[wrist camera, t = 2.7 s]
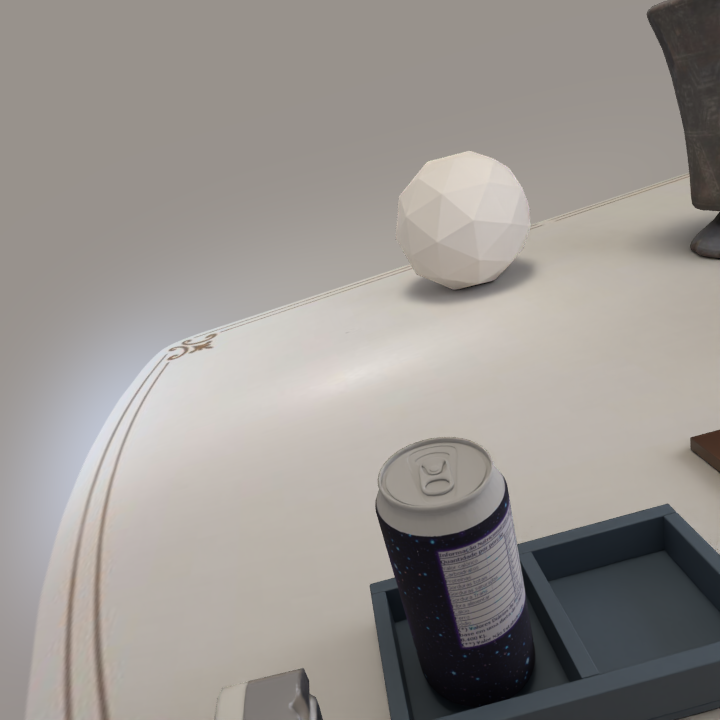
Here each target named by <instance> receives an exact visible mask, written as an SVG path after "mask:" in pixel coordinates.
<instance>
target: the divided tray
mask: <svg viewBox="0 0 720 720" xmlns="http://www.w3.org/2000/svg"><path fill="white" fill-rule="evenodd" d="M517 547H518V553H519V559H520V564H521V570H522V576H523V582H524V588H525V594H526V600H527V606H528V612H529V618H530V624H531V629H532V635H533V641H534V647H535V664H534V669H533V672H532V674H531V676H530V678H529V680H528V682H527V683H526V684H525V686H524V687H523V688H522V689H521V690H520V691H519V692H518V693H517V694H516V695H514V696H513V697H511V698H510V699H507V700H503V701H500V702H496V703H492V704H489V705H485V706H481V707H468V706H463V705H459V704H456V703H453V702H451V701H449V700H447V699H445V698H444V697H442V696H441V695H440V694H438V693H437V692H436V691H435V690H434V689H433V688H432V687H431V686H430V684H429V683H428V682H427V680H426V678H425V676H424V674H423V672H422V669H421V666H420V662H419V659H418V655H417V652H416V648H415V645H414V641H413V638H412V634H411V631H410V627H409V624H408V621H407V617H406V614H405V610H404V607H403V603H402V600H401V596H400V593H399V589H398V586H397V582H396V579H395V578H391V579H388V580H384V581H380V582H377V583H373V584H370V591H371V597H372V604H373V610H374V616H375V623H376V629H377V635H378V641H379V648H380V654H381V660H382V666H383V673H384V679H385V685H386V691H387V698H388V704H389V710H390V717H391V720H675V719H679V718H683V717H686V716H690V715H694V714H697V713H701V712H705V711H708V710H712V709H716V708H719V707H720V555H719V554H718V553H717V552H716V551H715V550H714V549H713V548H712V547H711V546H710V545H709V544H708V543H707V542H706V541H705V540H704V539H703V538H702V537H701V536H700V535H699V534H698V533H697V532H696V531H695V530H694V529H693V528H692V527H691V526H690V525H689V524H688V523H687V522H686V521H685V520H684V519H683V518H682V517H681V516H680V515H679V514H678V513H676V511H675V510H674V509H673V508H672V507H671V506H670V505H669V504H665V505H661V506H657V507H654V508H650V509H646V510H642V511H639V512H635V513H631V514H628V515H624V516H620V517H617V518H613V519H609V520H606V521H602V522H598V523H594V524H591V525H587V526H583V527H580V528H576V529H572V530H569V531H565V532H561V533H558V534H554V535H550V536H546V537H543V538H539V539H535V540H532V541H528V542H524V543H521V544H517Z"/></svg>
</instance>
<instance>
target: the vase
mask: <svg viewBox="0 0 720 720" xmlns="http://www.w3.org/2000/svg"><path fill="white" fill-rule="evenodd" d="M647 18H648V20H649V23H650V25H651V27H652V29H653V31H654V32H655V35H656V37H657V39H658V41H659V43H660V45H661V47H662V50H663V53H664V55H665V58H666V62H667V65H668V68H669V71H670V74H671V77H672V81H673V86H674V89H675V94H676V98H677V102H678V106H679V110H680V114H681V118H682V123H683V127H684V133H685V140H686V147H687V155H688V163H689V173H690V187H691V199H692V204H693V206H694V207H695V208H697V209H700V210H710V211H720V0H667V1H664V2H662V3H659V4H657V5H654V6H652V7H651V8H650V9H649V10H648V12H647ZM690 247H691V250H694V251H696V253H697V254H699V255H703V256H708V257H714V258H720V212H719V213H718V215H717V216H716V217H715V219H714V220H713V221H712V222H710V223H709V224H708V225H707V226H706V227H705V228H704V229H703V230H701V231H700V232H699V233H698V234H697V235H696V237H695V238H694V239H693V240H692V242H691V245H690Z"/></svg>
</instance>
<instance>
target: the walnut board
mask: <svg viewBox="0 0 720 720" xmlns="http://www.w3.org/2000/svg"><path fill="white" fill-rule="evenodd" d="M690 443H691V450H693V451H694V452H695V453H696V454H698V455H699V456H700V457H701V458H703V459H704V460H705V461H706V462H708V463H709V464H710V465H711V466H713V467H714V468H715V469H716V470H718V471H719V472H720V430H717V431H713V432H709V433H706V434H702V435H698V436H695V437H691V438H690Z"/></svg>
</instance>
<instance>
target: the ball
mask: <svg viewBox="0 0 720 720" xmlns="http://www.w3.org/2000/svg"><path fill="white" fill-rule="evenodd" d="M530 227H531V225H530V211H529V204H528V201H527V199H526V196H525V193H524V191H523V188H522V186H521V185H520V183H519V182H518V181H517V179H516V177H515V176H514V175H513V173H512V172H511V170H510V169H509V167H507V166H505V165H504V164H502V163H500V162H498V161H497V160H495V159H493V158H490V157H487V156H484V155H481V154H478V153H475V152H472V151H466V152H463V153H459V154H455V155H451V156H447V157H443V158H440V159H436V160H432V161H428V162H427V163H426V164H425V165H424V166H423V168H422V169H421V170H420V171H419V172H418V174H417V175H416V176H415V177H414V178H413V180H412V181H411V182H410V183H409V184H408V186H407V187H406V188H405V189H404V191H403V192H402V193H401V194H400V195H399V204H398V216H397V227H396V240H397V242H398V244H399V245H400V247H401V249H402V250H403V252H404V254H405V256H406V257H407V259H408V260H409V262H410V264H411V266H412V267H413V269H414V271H415V272H416V274H417V275H419V276H422V277H424V278H426V279H429V280H431V281H434V282H436V283H438V284H441V285H443V286H446V287H448V288H450V289H453V290H456V289H461V288H465V287H469V286H473V285H477V284H481V283H486V282H490V281H494V280H495V279H496V278H497V277H498V276H499V275H500V274H501V273H502V272H503V271H504V270H505V269H506V268H507V267H508V266H509V265H510V264H511V263H512V262H513V260H514V259H515V258H516V257H517V255H518V254H519V253H520V252H521V251H522V249H523V248H524V245H525V242H526V239H527V236H528V233H529V230H530Z"/></svg>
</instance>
